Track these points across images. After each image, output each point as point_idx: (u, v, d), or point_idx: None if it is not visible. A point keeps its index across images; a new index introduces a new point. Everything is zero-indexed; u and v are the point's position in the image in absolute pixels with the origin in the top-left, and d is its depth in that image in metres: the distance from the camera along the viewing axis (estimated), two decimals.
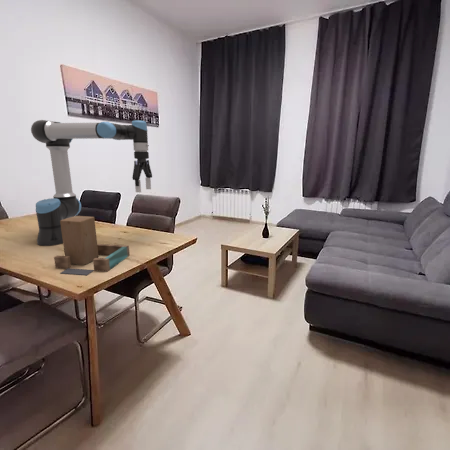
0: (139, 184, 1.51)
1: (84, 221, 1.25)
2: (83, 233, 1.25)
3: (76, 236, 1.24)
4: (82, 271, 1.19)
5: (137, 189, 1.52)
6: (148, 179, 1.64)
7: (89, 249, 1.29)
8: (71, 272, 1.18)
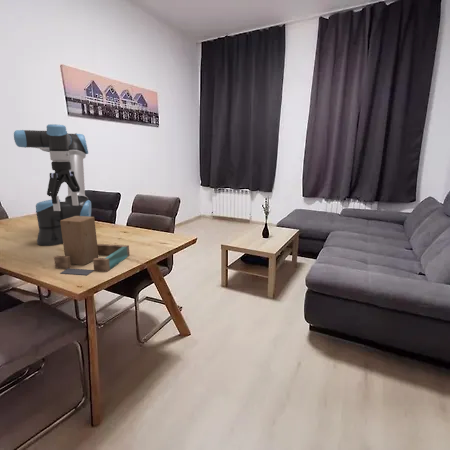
0: (57, 201, 1.25)
1: (84, 221, 1.25)
2: (83, 233, 1.25)
3: (76, 236, 1.24)
4: (82, 271, 1.19)
5: (55, 207, 1.26)
6: (74, 194, 1.38)
7: (89, 249, 1.29)
8: (71, 272, 1.18)
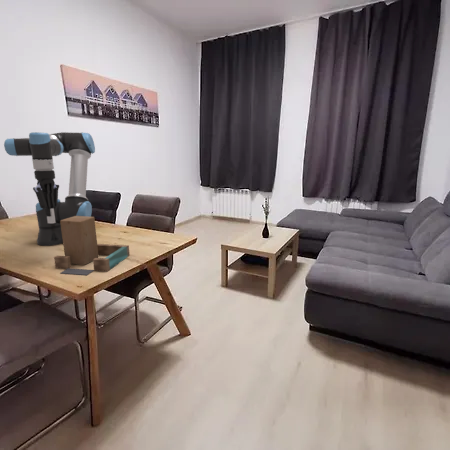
0: (51, 214, 1.28)
1: (84, 221, 1.25)
2: (83, 233, 1.25)
3: (76, 236, 1.24)
4: (82, 271, 1.19)
5: (49, 220, 1.29)
6: None
7: (89, 249, 1.29)
8: (71, 272, 1.18)
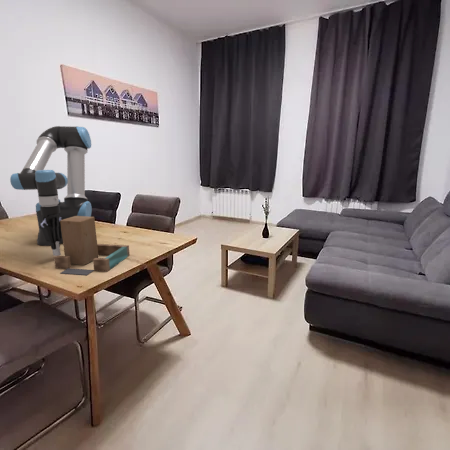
0: (56, 247, 1.32)
1: (84, 221, 1.25)
2: (83, 233, 1.25)
3: (76, 236, 1.24)
4: (82, 271, 1.19)
5: (54, 252, 1.33)
6: None
7: (89, 249, 1.29)
8: (71, 272, 1.18)
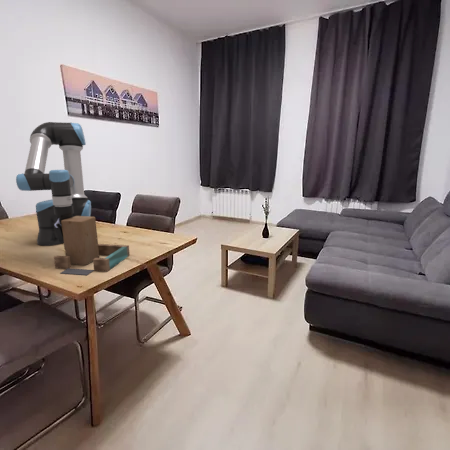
0: None
1: (85, 221, 1.25)
2: (84, 233, 1.25)
3: (77, 236, 1.24)
4: (82, 271, 1.19)
5: None
6: None
7: (90, 249, 1.29)
8: (71, 272, 1.18)
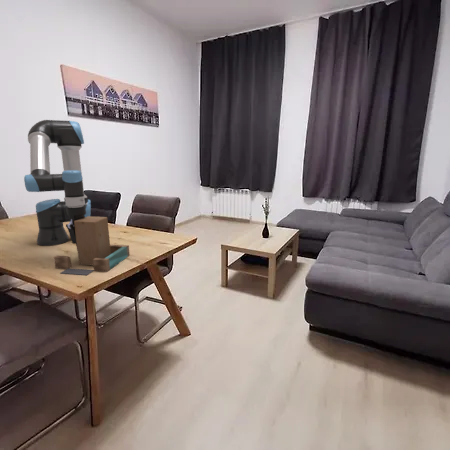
0: None
1: (98, 221, 1.24)
2: (98, 233, 1.24)
3: (90, 236, 1.23)
4: (82, 271, 1.19)
5: None
6: None
7: (103, 250, 1.29)
8: (71, 272, 1.18)
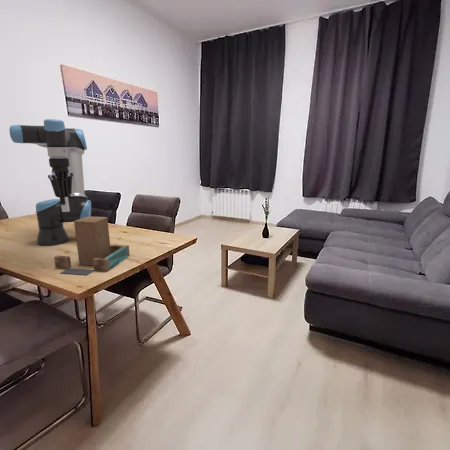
0: (65, 202, 1.27)
1: (98, 221, 1.24)
2: (98, 233, 1.24)
3: (90, 236, 1.23)
4: (82, 271, 1.19)
5: (63, 208, 1.28)
6: None
7: (103, 250, 1.29)
8: (71, 272, 1.18)
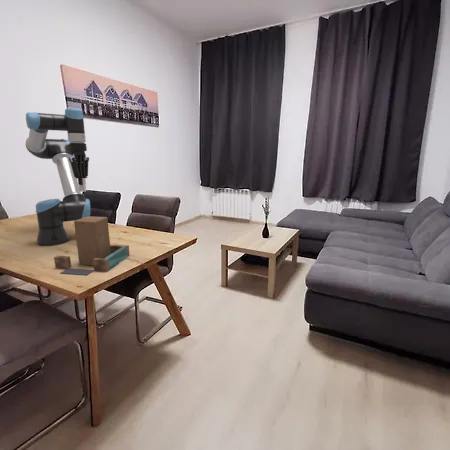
0: (83, 183, 1.43)
1: (98, 221, 1.24)
2: (98, 233, 1.24)
3: (90, 236, 1.23)
4: (82, 271, 1.19)
5: (81, 188, 1.44)
6: None
7: (103, 250, 1.29)
8: (71, 272, 1.18)
